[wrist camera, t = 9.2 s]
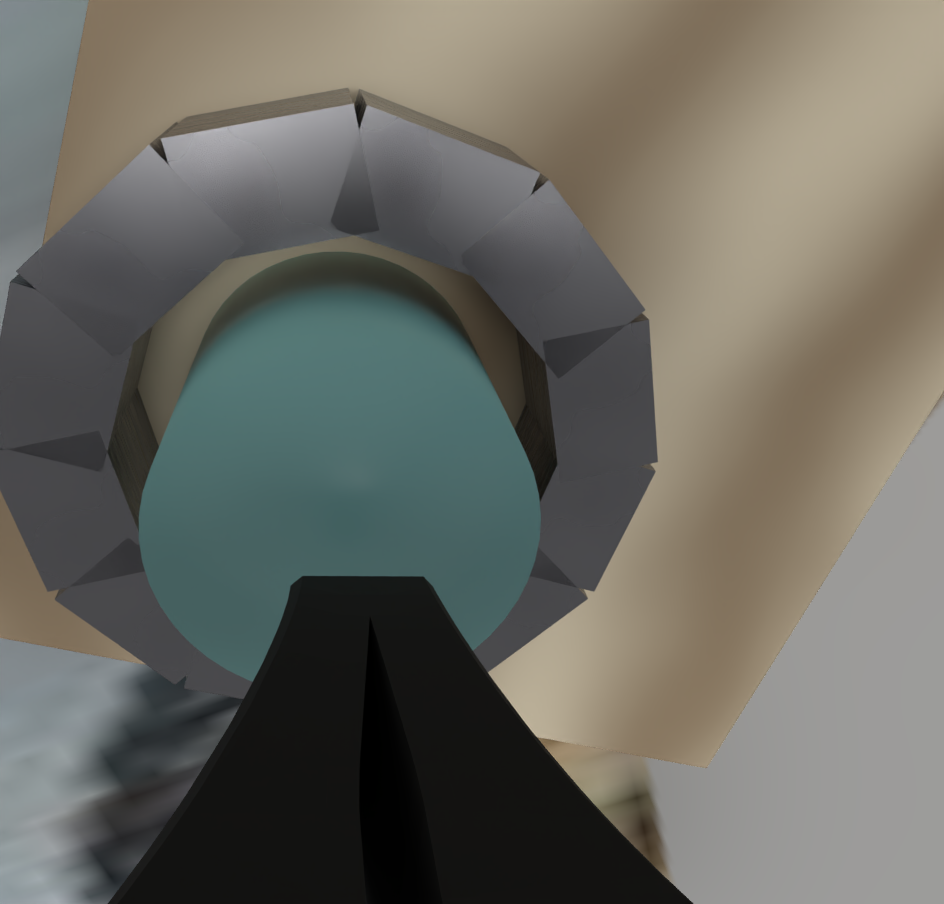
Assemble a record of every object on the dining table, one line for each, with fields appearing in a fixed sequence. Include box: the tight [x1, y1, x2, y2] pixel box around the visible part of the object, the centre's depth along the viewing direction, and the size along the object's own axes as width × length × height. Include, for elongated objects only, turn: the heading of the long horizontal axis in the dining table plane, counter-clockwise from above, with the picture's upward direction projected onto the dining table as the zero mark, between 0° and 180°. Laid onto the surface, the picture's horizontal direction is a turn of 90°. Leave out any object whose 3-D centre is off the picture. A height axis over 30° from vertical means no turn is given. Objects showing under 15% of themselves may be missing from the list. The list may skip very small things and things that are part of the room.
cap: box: [139, 252, 541, 682], centre depth 13 cm, size 5×5×5 cm
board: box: [0, 0, 944, 768], centre depth 15 cm, size 16×20×1 cm
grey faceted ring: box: [0, 88, 658, 699], centre depth 14 cm, size 10×10×2 cm
